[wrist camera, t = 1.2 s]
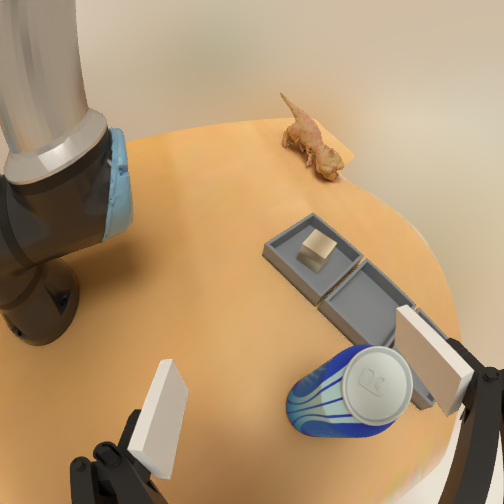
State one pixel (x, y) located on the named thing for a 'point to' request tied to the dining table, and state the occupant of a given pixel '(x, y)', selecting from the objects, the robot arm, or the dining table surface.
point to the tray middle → (366, 306)
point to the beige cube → (316, 251)
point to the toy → (312, 143)
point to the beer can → (352, 394)
